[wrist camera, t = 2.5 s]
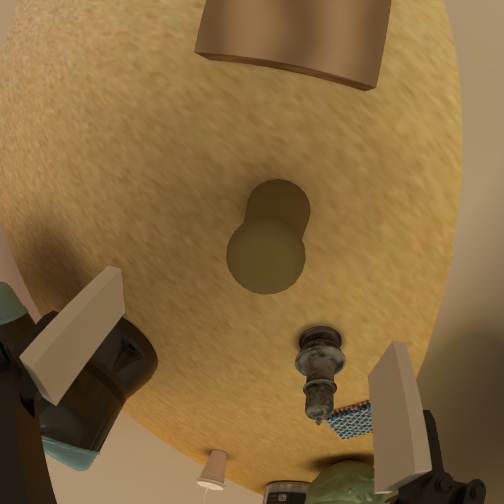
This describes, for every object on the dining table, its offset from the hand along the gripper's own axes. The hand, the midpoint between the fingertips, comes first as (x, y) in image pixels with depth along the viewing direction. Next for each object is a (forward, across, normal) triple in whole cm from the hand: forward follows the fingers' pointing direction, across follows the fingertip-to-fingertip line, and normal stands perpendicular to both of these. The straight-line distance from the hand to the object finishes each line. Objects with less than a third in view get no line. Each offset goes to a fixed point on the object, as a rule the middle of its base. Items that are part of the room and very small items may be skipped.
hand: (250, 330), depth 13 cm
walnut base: (+17, -2, +20) cm, 26 cm away
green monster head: (+17, +30, -53) cm, 63 cm away
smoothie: (+16, +1, -60) cm, 62 cm away
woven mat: (+17, +22, -32) cm, 42 cm away
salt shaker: (+17, +9, -15) cm, 24 cm away
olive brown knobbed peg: (+17, 0, 0) cm, 17 cm away
